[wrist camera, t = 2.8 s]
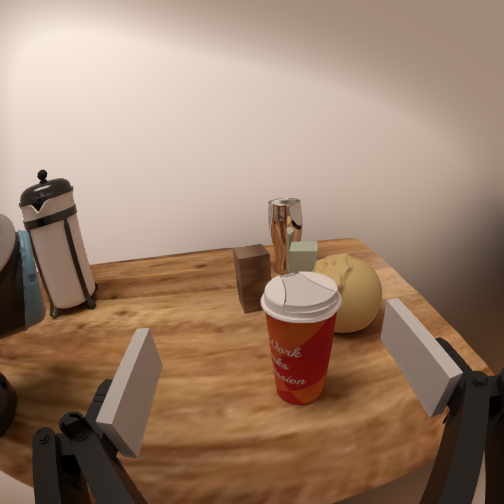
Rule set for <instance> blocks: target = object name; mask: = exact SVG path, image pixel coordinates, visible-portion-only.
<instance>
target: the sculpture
mask: <svg viewBox="0 0 504 504" xmlns="http://www.w3.org/2000/svg"><path fill="white" fill-rule="evenodd" d="M311 272H314V273H319V274H323V275H325V276H327V277H329V278H331V279H332V280H333V281H334V282H335V283H336V285H337V287H338V291H339V293H340V295H341V298H342V303H341V306H340V308H339V309H338V310H337V316H336V323H335V329H334V332H336V333H349V332H355V331H359V330H361V329H364V328H365V327H367V326H368V325H369V324H370V323H371V322H372V321H373V320H374V319H375V317H376V315H377V314H378V311H379V309H380V306H381V301H382V288H381V283H380V280H379V277H378V275H377V274H376V272H375V271H374V269H373V268H372V267H371V266H370V265H368V264H367V263H365V262H363V261H361V260H359V259H355V258H352V257H350V256H349V254H348V253H345V254H337V255H330V256H328V257H326V258H324V259H320V260H317V261H316V263H315V267H314V269H313V271H311Z"/></svg>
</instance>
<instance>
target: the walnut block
mask: <svg viewBox="0 0 504 504" xmlns="http://www.w3.org/2000/svg"><path fill="white" fill-rule="evenodd" d="M233 253H234V262H235V270H236V278H237V287H238V295H239V300H240V303H241V305H242V308H243V310H244V313H249V312H254V311H259V310H263V308H262V306H261V298H262V296H263V294H264V291H265V287H266V285H267V284H268V282H269V281H271V268H270V254H269V253H268V251H267V250H266V249H265V248H264V246H263V245H262V244H258V245H252V246H245V247H239V248H233Z"/></svg>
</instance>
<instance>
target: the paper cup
mask: <svg viewBox="0 0 504 504" xmlns="http://www.w3.org/2000/svg"><path fill="white" fill-rule="evenodd" d="M341 303H342V298H341V295H340V293H339V291H338V287H337V285H336V283H335V282H334V281H333V280H332V279H331V278H329V277H327V276H325V275H323V274H319V273H314V272H299V273H298V274H295V273H291V274H286V275H284V277H279V276H277V277H275V278H273V279H272V280H271V281H269V282H268V284H267V285H266V287H265V291H264V294H263V296H262V298H261V306H262V308H263V310H264V311H265V313H266V320H267V327H268V334H269V341H270V348H271V355H272V362H273V369H274V375H275V381H276V387H277V391H278V394H279V396H280V397H281V398H282V399H283V400H284V401H286V402H288V403H291V404H296V405H302V404H308V403H311V402H313V401H314V400H316V399H317V398H318V397H319V396H320V395H321V393H322V390H323V387H324V383H325V379H326V374H327V369H328V364H329V359H330V353H331V348H332V342H333V336H334V329H335V323H336V316H337V310H338V309H339V308H340V306H341Z"/></svg>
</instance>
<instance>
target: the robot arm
mask: <svg viewBox="0 0 504 504" xmlns="http://www.w3.org/2000/svg"><path fill="white" fill-rule="evenodd" d="M45 315H46V308H45V304H44V300H43V296H42V292H41V288H40V284H39V279H38V275H37V271H36V266H35V261H34V256H33V251H32V246H31V240H30V236H29V233H28V232H27V231H21V230H19V231H17V232H15V229H14V226H13V224H12V222H11V220H10V219H9V218H8V217H6V216H5V215H3V214H0V340H1V339H4V338H6V337H9V336H11V335H14V334H17V333H19V332H22V331H27V330H28V328H29V327H31V326H33V325H36V324H38V323H40V322H41V321H42V320H43V319H44V317H45ZM380 339H381V341H382V342H383V344H384V345H385V347H386V348H387V350H388V351H389V353H390V354H391V356H392V357H393V359H394V360H395V362H396V364H397V365H398V367H399V368H400V370H401V371H402V373H403V375H404V376H405V378H406V379H407V381H408V383H409V384H410V386H411V387H412V389H413V391H414V392H415V394H416V396H417V397H418V399H419V401H420V402H421V404H422V406H423V407H424V409H425V411H426V412H427V414H428V416H429V417H430V418H432V417H434V416H436V415H439V414H441V413H443V411H444V409H445V407H446V406H448V407H449V409H450V410H449V412H448V414H447V416H446V417H445V419H444V421H443V424H444V423H445V422H446V424H445V428H444V432H443V436H442V440H441V444H440V447H439V451H438V454H437V457H436V460H435V464H434V467H433V470H432V472H431V475H430V478H429V481H428V484H427V486H426V489H425V491H424V494H423V496H422V499H421V501H420V503H419V504H471V503H472V500H473V497H474V493H475V489H476V486H477V481H478V477H479V473H480V468H481V463H482V458H483V453H484V449H485V468H486V469H485V470H486V491H485V493H486V494H485V504H504V368H503V369H502V370H501V372H500V374H499V375H495V376H489V377H488V376H487V375H486V374H485V373H483V372H480V371H472V369H471V368H470V367H469V366H468V365H467V363H466V362H465V361H464V360H463V359H462V358H461V356H460V355H459V354H457V352H456V351H455V349H453V347H452V346H451V345H450V344H449V343H448V342H447V341H445V340H444V339H442V338H440V337H439V338H436V339H435V338H434V337H433V336H432V335H431V334H430V333H429V332H428V330H427V329H426V328H425V327H424V326H423V325H422V324H421V323H420V321H419V320H418V319H417V318H416V317H415V316H414V315H413V314H412V313H411V312H410V310H409V309H408V308H407V307H406V306H405V305H404V304H403V303H402V302H401V301H400V300H399V299H398V298H395V299H390V300H387V301H386V308H385V314H384V321H383V327H382V332H381V338H380ZM162 366H163V365H162V362H161V359H160V357H159V354H158V351H157V348H156V346H155V343H154V340H153V337H152V334H151V331H150V328H139V329H137V330H136V332H135V334H134V336H133V338H132V340H131V342H130V344H129V346H128V348H127V351H126V353H125V355H124V357H123V359H122V361H121V364H120V366H119V368H118V370H117V372H116V375H115V377H114V379H113V380H108V379H106V380H105V381H104V382H103V383H102V384H101V385H100V386H99V387H98V389H97V392H96V395H95V396H94V398H93V402H92V403H91V405H90V407H89V409H88V411H87V414H86V416H85V417H84V416H83V415H82V414H81V413H79V412H74V411H73V412H69V413H67V414H65V415H64V416H63V417H62V418H61V419H60V422H59V428H60V430H61V431H62V432H63V433H61V434H55V433H54V431H53V430H52V429H50V428H48V427H43V428H40V429H39V430H37V431H36V433H35V434H34V436H33V482H34V495H35V504H91V502H90V497H89V493H88V488H87V483H88V486H89V488H90V490H91V492H92V494H93V496H94V497H95V499H96V501H97V503H98V504H148V503H147V502H146V500H145V499H144V498H143V496H142V495H141V493H140V492H139V491H138V489H137V488H136V486H135V485H134V483H133V482H132V480H131V479H130V477H129V475H128V474H127V472H126V471H125V469H124V467H123V466H122V464H121V462H120V461H119V459H118V458H117V457H116V455H117V452H118V451H119V452H120V453H121V454H122V455H123V456H125V457H132V458H138V457H139V453H140V448H141V444H142V440H143V436H144V432H145V428H146V424H147V420H148V416H149V413H150V409H151V405H152V401H153V398H154V394H155V391H156V387H157V383H158V380H159V376H160V373H161V369H162ZM16 402H17V399H16V393H15V390H14V389H13V387H12V386H11V384H10V383H9V381H8V380H7V378H6V377H5V376H4V375H3V374H2V373H1V372H0V435H1V434H2V433H3V432H4V431H5V430H6V428H7V427H8V425H9V424H10V422H11V420H12V418H13V416H14V413H15V409H16ZM86 481H87V483H86Z"/></svg>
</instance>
